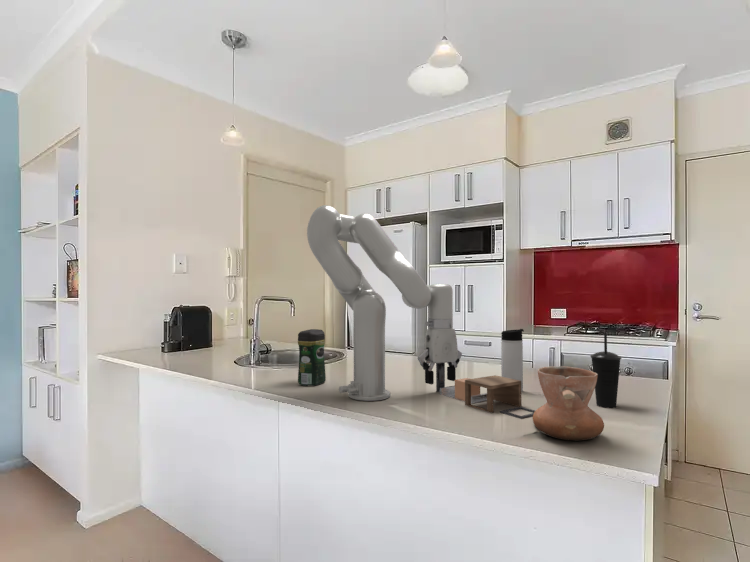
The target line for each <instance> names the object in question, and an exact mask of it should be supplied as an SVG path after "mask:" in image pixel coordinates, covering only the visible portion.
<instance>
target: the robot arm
mask: <svg viewBox="0 0 750 562" xmlns="http://www.w3.org/2000/svg"><path fill="white" fill-rule="evenodd" d="M306 236H307V241H308V245H309V248H310V251H311V253H312V254H313V256H314V257H315V259H316V260H317V262H318V263H319V264H320V267H321V268H322V269H323V270H324V272H325V273H326V275H327V276H328V277H329V279H330V280H331V282H332V285H333V286H334V288H335V289H336V290H337V291H338V293H339V294H340V295H341V297H342V299H344V301H345V302H346V303H347V305H348V306H349V307H350V309H351V310H352V311H353V312H352V313H353V314H352V315H353V320H352V321H353V326H352V327H353V380H352V381H351V380H350V382H349V384H348V385H340V386H339V387H338V391H339V393H340V394H342V393H347V394H348V397H349V398H350V399H352V400H355V401H365V402H369V401H370V402H373V401H382V400H386V399H389V398H390V397H391V391H390V390H388V389H386V315H387V307H386V303H385V300H384V298H383V297H382V295H380V294H379V293H378V292H376V290H375V289H374V288H373V286H372V285H371V283H369V281H368V280H367V279H366V277H365V276H364V274H363V272H362V270H361V269H360V267H359V265H357V264H356V263H355V262H354V260H353V259H352V258H351V257H350V256H349V254H348V253H347V251H346V249H345V248H344V247H343V245H342V244H341V242H346V243H353V244H359V246H360V247H361V248H362V250H363V251H364V252H365V253H366V255H367V257H368V258H369V259H370V260H371V262H372V263H373V264H374V266H375V268H377V269H378V270H379V271H380V272H381V273H382V274H384V275H385V276H386V277H387V278H388V279H389V280H390V281H391V282H392V283H393V284H394V286H395V287H396V288H397V290H398V291H399V293H400V294H401V299H402V301H403V303H404V304H405V305H406V306H407V307H408V308H412V309H417V310H420V309H425V308H426V307H427V321H426V322H425V326H426V327H427V329H426V332H425V338H424V348H423V349H424V350H423V352H422V353H420V354H419V355H418V356H417V361H418V362H419V364H420V365H419V366H421V367H422V369H423V370H424V382H425V384H429V385H434V383H435V382H434V380H435V379H434V374H435V373H434V370H433V368H434V367H435V364H436V363H447V364H446V365H448V366H447V367H446V379H447V380H448V381H452V382H455V380H457V379H456V371H457V368H458V364H459V363H460V359H461V357H462V355H463V353H462V352H461V351H460V350H459V349H458V341H457V340H458V339H457V333H456V330H455V328H454V327H453V325H454V323H453V320H454V319H453V316H454V314H453V313H454V312H453V307H454V306H453V305H454V304H453V303H454V302H453V299H454V298H453V295H454V294H453V287H452V285H450V284H446V283H445V284H444V283H441V284H439V283H438V284H437V283H434V284H430V285H427V283H426V281H425V280H424V279H423V277H421V275H420V274H419V272H418V271H417V270H416V269H415V267H414V266H413V265H412V264H411V263H410V261H409V260H407V258H406V257H405V255H404V254H403V253H402V252H401V250H399V249H398V247H397V246H396V245H395V243H394V242H393V241H392V239H391V238H390V236H389V235H388V234H387V232H386V230H384V228H383V227H382V226H381V224H380V223H379V222H378V221H377V219H376V218H375V217H374V216H373V215H372V214H369V213H361V214H358V215H357V216H352V215H346V214H342V213H339V211H338V210H337V209H336V208H335V207H333V206H332V205H328V204H326V205H321V206H319V207H317V208H316V209H315V210H314V211H313V212H312V214H311V216H310V217H309V220H308V224H307V228H306ZM340 241H341V242H340Z"/></svg>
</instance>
